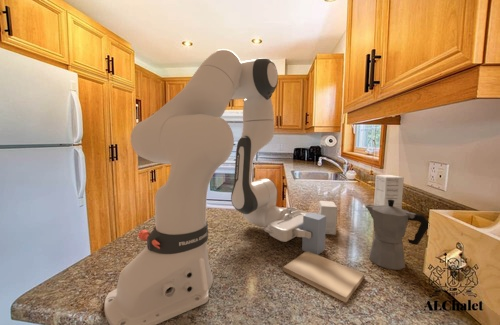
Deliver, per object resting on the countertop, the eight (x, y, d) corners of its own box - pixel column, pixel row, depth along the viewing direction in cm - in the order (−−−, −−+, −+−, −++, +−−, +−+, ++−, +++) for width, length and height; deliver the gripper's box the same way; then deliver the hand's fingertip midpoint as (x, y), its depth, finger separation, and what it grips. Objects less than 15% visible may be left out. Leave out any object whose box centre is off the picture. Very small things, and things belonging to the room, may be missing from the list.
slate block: (316, 255, 65) (318, 219, 64) (302, 249, 69) (303, 215, 68) (324, 250, 69) (326, 216, 68) (310, 244, 72) (311, 212, 71)
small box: (336, 235, 80) (337, 207, 79) (320, 233, 81) (321, 206, 80) (332, 227, 88) (333, 201, 87) (317, 225, 89) (319, 200, 88)
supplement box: (402, 210, 111) (404, 177, 109) (384, 210, 111) (386, 177, 109) (389, 205, 121) (392, 174, 119) (373, 204, 120) (375, 174, 119)
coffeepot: (355, 256, 65) (359, 197, 64) (369, 247, 71) (373, 192, 69) (418, 283, 53) (425, 211, 52) (429, 269, 59) (435, 204, 57)
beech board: (345, 302, 46) (346, 297, 46) (283, 271, 57) (283, 266, 57) (364, 278, 55) (364, 273, 55) (306, 254, 66) (306, 250, 66)
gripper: (260, 219, 70) (299, 231, 60) (296, 206, 84) (331, 214, 75) (260, 238, 70) (298, 254, 61) (295, 222, 85) (330, 232, 75)
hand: (316, 232), depth 68 cm, fingers closed on slate block, 5 cm apart
